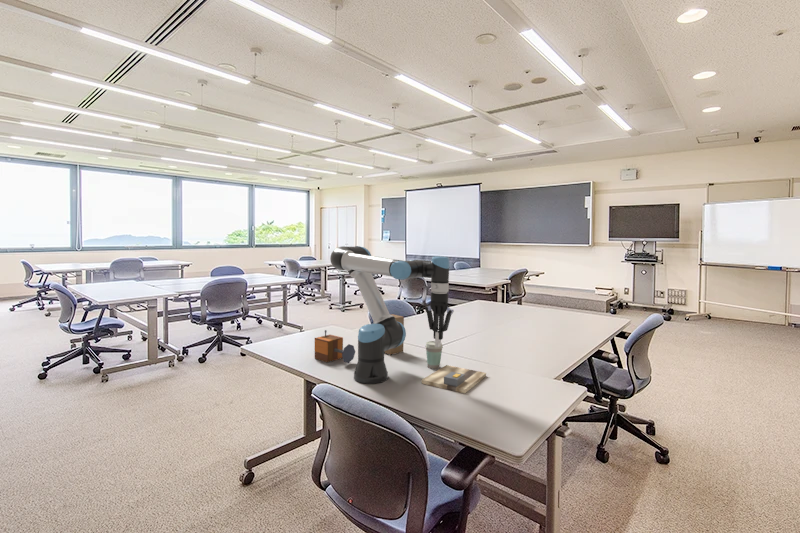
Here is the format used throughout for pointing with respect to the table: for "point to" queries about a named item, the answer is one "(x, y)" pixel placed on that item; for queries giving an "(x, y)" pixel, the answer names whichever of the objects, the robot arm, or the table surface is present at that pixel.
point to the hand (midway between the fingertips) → (437, 346)
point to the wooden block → (400, 347)
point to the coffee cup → (433, 355)
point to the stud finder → (454, 379)
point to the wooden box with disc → (332, 349)
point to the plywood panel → (470, 375)
